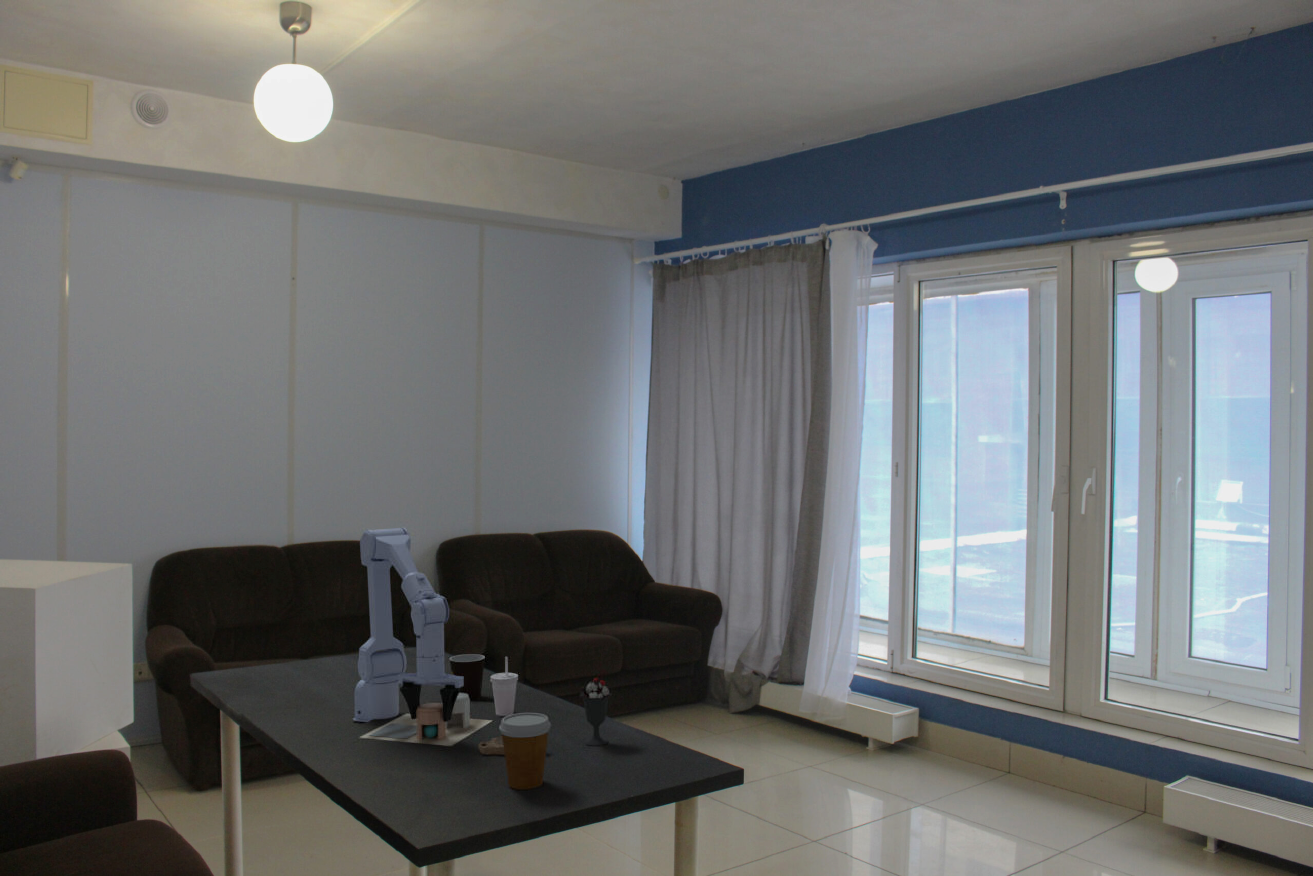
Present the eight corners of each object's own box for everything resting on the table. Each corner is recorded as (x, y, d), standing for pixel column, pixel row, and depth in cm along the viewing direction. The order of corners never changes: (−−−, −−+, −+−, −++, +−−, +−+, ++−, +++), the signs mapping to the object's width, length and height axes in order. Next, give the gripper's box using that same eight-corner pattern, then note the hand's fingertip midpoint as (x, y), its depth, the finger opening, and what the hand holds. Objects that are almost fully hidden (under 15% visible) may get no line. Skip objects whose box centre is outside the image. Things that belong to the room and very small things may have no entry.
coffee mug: (481, 702, 239) (481, 661, 239) (446, 702, 240) (446, 662, 240) (490, 690, 251) (490, 651, 251) (457, 690, 251) (456, 651, 251)
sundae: (616, 739, 209) (616, 668, 209) (605, 748, 202) (604, 676, 202) (588, 736, 211) (587, 666, 211) (575, 745, 205) (574, 673, 205)
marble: (421, 739, 207) (421, 724, 207) (428, 735, 210) (428, 721, 210) (433, 740, 206) (433, 725, 206) (441, 736, 209) (440, 722, 209)
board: (358, 742, 208) (358, 736, 208) (406, 718, 227) (406, 713, 227) (451, 750, 202) (451, 745, 202) (492, 725, 220) (492, 719, 220)
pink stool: (412, 740, 206) (412, 708, 206) (426, 732, 211) (425, 702, 211) (436, 742, 204) (436, 710, 204) (449, 734, 210) (449, 703, 210)
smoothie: (513, 722, 222) (512, 660, 222) (486, 721, 223) (485, 659, 224) (522, 714, 228) (522, 654, 229) (496, 713, 230) (495, 653, 230)
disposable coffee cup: (501, 776, 186) (501, 712, 186) (551, 774, 187) (551, 711, 187) (497, 794, 177) (497, 727, 177) (550, 791, 178) (550, 725, 178)
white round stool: (438, 728, 214) (438, 698, 214) (450, 721, 220) (450, 692, 220) (461, 730, 213) (461, 700, 213) (473, 723, 218) (473, 693, 218)
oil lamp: (480, 764, 194) (479, 738, 194) (476, 752, 201) (476, 728, 201) (546, 757, 197) (545, 733, 197) (540, 746, 205) (540, 722, 205)
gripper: (390, 657, 206) (390, 722, 206) (451, 660, 202) (452, 726, 202) (407, 650, 213) (408, 713, 213) (468, 653, 209) (468, 717, 209)
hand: (431, 719), depth 208 cm, fingers open, 7 cm apart
